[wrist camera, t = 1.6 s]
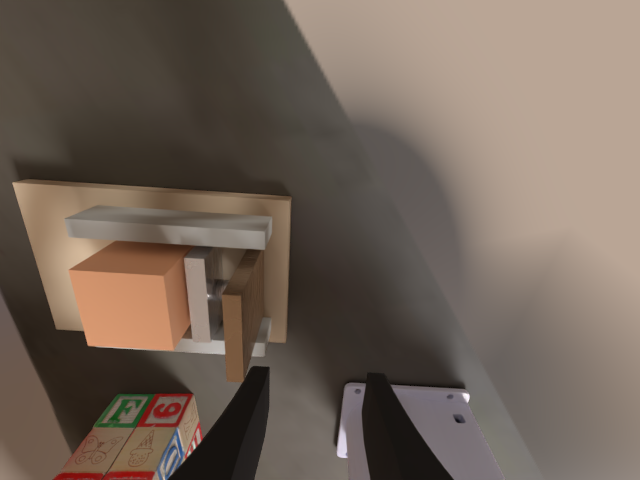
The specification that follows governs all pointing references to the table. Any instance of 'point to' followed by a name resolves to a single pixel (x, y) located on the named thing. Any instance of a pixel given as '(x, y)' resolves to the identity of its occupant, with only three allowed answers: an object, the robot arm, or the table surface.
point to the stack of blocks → (137, 439)
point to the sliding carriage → (226, 303)
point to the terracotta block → (133, 295)
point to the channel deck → (156, 240)
